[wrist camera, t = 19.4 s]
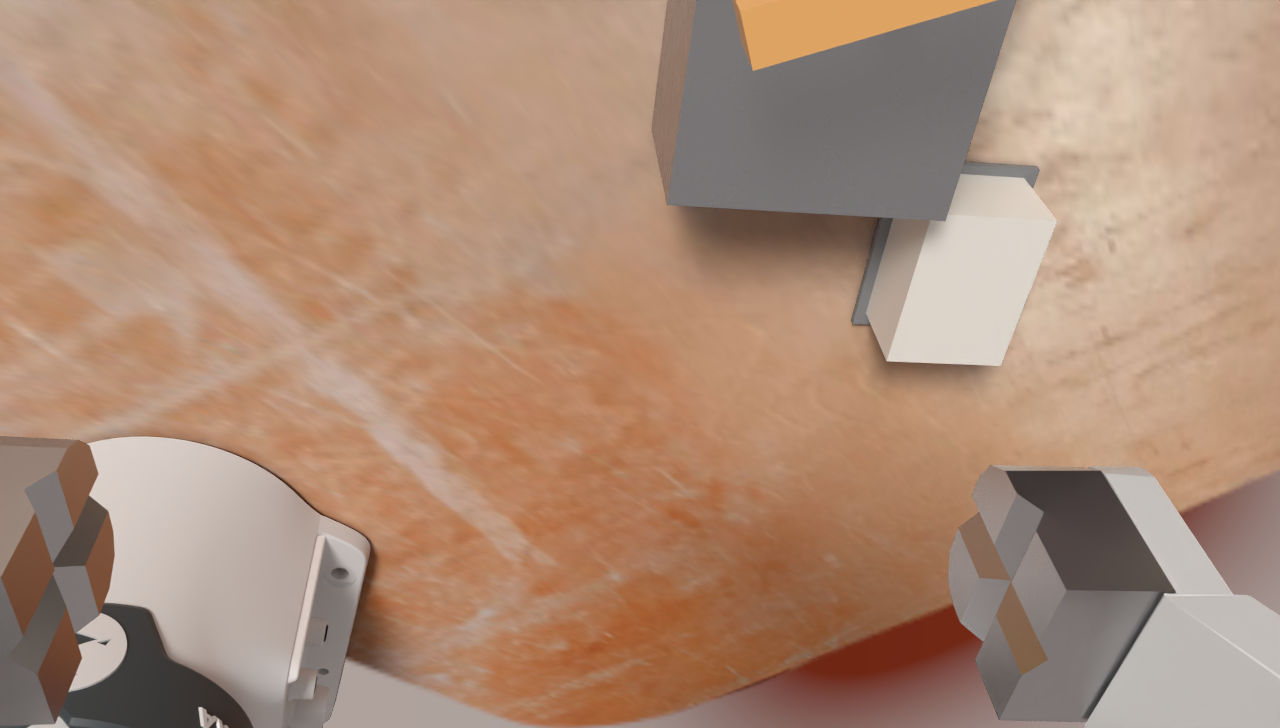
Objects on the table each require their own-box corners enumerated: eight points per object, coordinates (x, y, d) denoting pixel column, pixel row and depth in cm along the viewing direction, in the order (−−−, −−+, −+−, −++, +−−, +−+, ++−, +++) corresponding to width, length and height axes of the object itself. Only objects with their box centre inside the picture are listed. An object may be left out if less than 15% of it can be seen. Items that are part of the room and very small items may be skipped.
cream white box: (973, 318, 48) (1000, 365, 45) (865, 313, 47) (886, 361, 45) (1024, 178, 44) (1057, 220, 41) (906, 170, 43) (932, 213, 40)
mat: (978, 325, 49) (980, 329, 48) (851, 319, 48) (852, 323, 48) (1037, 166, 44) (1039, 169, 44) (896, 156, 43) (898, 160, 43)
